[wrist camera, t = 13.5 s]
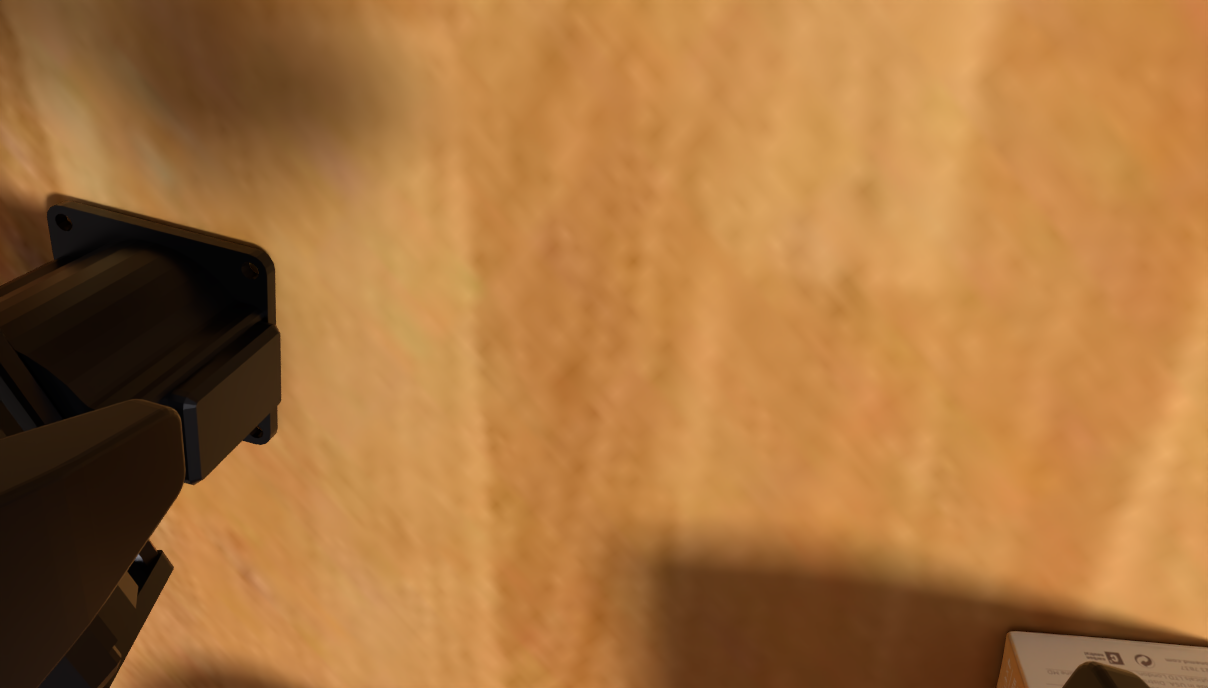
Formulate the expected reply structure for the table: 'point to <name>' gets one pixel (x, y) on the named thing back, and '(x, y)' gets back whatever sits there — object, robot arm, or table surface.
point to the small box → (1098, 660)
